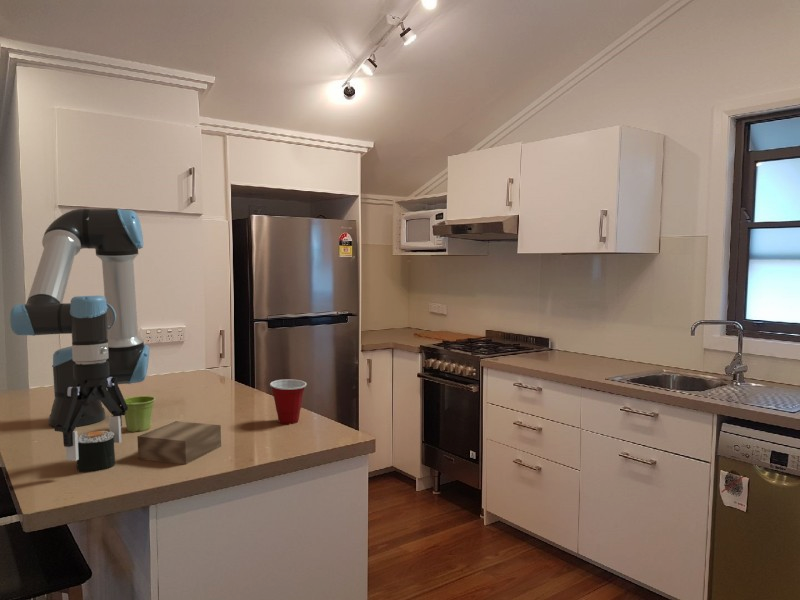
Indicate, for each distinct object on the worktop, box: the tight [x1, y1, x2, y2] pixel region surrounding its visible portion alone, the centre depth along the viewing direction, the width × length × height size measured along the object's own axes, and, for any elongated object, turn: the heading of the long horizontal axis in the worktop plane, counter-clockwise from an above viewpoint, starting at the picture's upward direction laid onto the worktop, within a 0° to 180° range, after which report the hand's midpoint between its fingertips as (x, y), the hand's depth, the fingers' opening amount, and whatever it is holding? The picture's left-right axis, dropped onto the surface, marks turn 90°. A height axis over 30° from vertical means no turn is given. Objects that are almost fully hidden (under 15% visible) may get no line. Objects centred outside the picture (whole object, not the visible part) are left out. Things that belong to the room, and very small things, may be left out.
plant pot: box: [124, 395, 156, 433], centre depth 168 cm, size 9×9×9 cm
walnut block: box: [137, 420, 222, 465], centre depth 146 cm, size 14×14×6 cm
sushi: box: [76, 430, 116, 473], centre depth 137 cm, size 8×8×8 cm
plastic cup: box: [269, 378, 308, 425], centre depth 173 cm, size 11×11×12 cm
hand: (95, 450), depth 137 cm, fingers open, 13 cm apart
